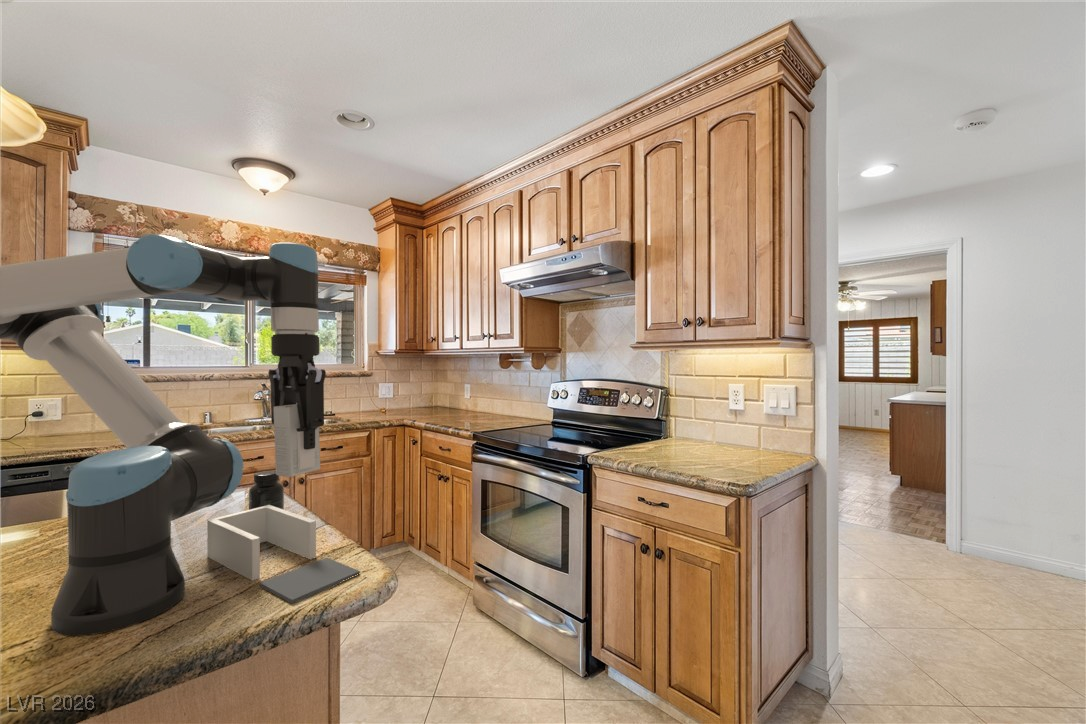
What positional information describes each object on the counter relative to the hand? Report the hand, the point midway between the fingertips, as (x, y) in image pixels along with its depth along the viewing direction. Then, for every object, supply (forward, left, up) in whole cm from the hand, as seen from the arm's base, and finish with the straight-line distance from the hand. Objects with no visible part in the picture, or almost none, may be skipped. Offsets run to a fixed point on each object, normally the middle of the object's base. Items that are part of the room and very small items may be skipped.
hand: (297, 465), depth 84 cm
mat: (0, -5, -19) cm, 20 cm away
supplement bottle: (+9, +28, -19) cm, 35 cm away
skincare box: (0, 0, -1) cm, 1 cm away
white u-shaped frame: (0, +12, -19) cm, 22 cm away
